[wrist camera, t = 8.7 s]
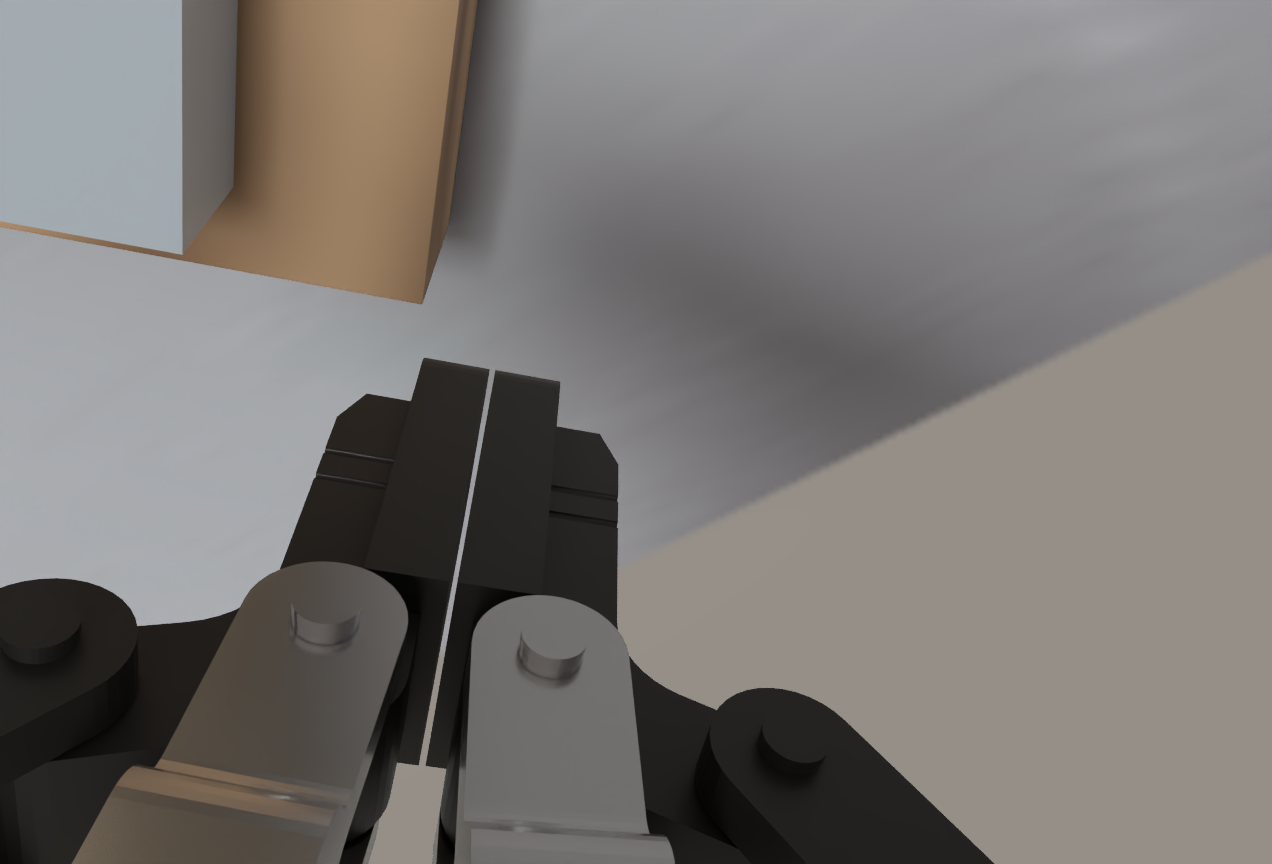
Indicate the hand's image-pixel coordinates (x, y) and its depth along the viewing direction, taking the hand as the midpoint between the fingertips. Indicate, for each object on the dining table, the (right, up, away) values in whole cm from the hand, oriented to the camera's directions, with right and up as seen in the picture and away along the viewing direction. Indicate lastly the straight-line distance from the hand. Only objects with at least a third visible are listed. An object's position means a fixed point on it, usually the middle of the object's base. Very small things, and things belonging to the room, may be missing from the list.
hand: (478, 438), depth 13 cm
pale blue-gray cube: (-8, +7, +8) cm, 13 cm away
